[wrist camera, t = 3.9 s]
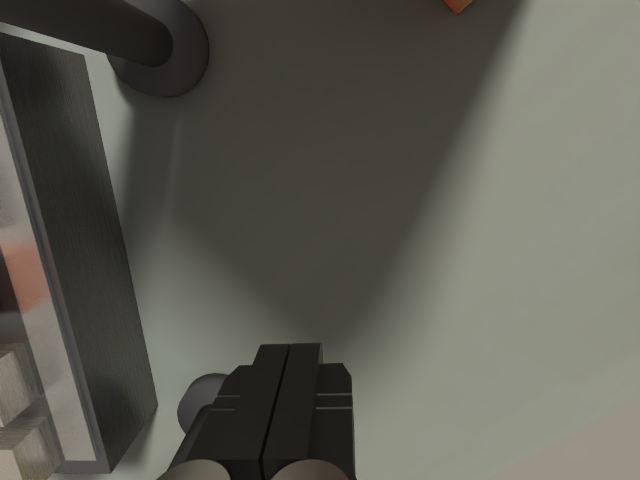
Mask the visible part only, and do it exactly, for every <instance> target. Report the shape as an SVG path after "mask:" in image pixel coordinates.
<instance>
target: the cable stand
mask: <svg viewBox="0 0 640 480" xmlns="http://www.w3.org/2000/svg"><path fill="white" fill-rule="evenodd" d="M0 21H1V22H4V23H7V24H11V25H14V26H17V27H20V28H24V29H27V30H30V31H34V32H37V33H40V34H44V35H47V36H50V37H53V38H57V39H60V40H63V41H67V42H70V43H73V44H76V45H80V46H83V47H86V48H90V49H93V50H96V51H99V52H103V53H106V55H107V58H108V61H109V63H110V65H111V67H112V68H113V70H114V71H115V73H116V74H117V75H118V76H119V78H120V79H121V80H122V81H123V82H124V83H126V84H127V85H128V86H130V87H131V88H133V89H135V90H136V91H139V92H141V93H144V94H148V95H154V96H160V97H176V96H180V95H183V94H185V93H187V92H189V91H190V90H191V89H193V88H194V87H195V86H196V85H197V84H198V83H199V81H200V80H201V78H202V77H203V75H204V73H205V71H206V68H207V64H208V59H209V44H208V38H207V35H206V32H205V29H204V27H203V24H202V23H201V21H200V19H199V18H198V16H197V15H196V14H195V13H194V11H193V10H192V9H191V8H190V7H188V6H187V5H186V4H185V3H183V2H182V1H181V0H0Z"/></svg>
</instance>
